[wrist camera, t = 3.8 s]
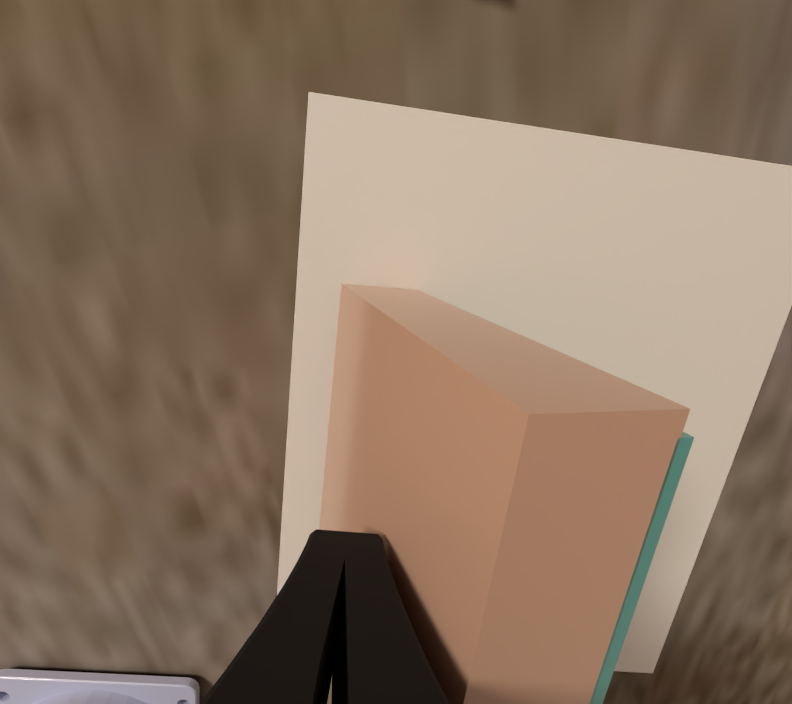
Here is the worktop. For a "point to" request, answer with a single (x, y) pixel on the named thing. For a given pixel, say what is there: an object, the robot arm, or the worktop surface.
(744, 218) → the cutting board
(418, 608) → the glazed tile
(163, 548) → the worktop surface
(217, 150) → the worktop surface
